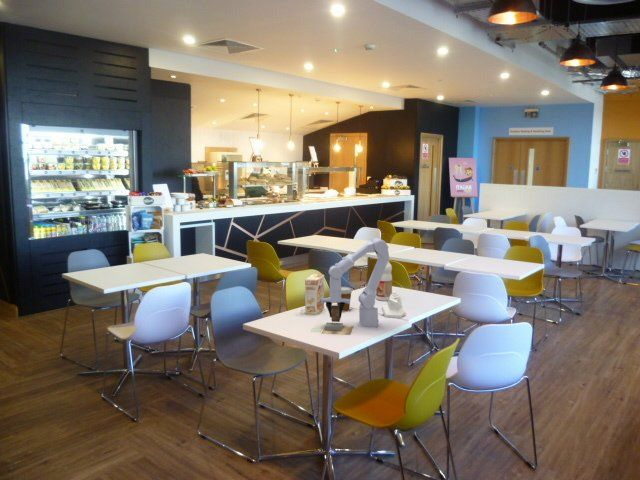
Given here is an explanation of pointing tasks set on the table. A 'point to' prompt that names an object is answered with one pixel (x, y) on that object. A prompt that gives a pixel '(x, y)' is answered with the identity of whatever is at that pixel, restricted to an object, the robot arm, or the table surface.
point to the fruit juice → (385, 284)
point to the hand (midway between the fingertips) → (335, 316)
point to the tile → (334, 326)
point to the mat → (345, 331)
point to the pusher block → (335, 313)
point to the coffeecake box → (314, 294)
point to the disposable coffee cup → (347, 295)
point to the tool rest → (316, 330)
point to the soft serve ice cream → (393, 307)
